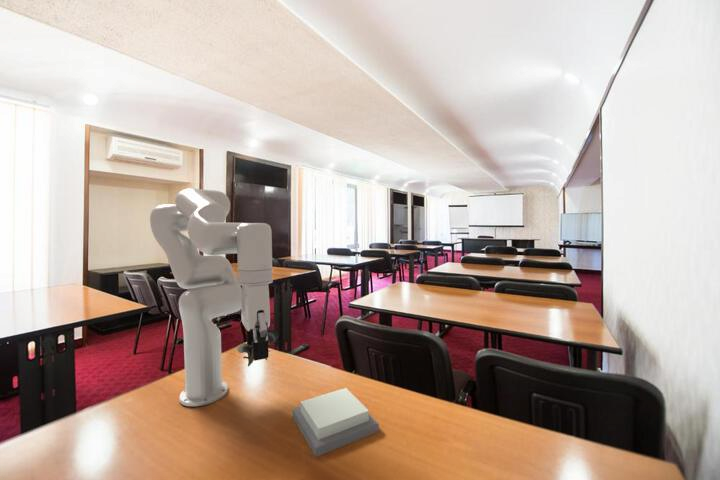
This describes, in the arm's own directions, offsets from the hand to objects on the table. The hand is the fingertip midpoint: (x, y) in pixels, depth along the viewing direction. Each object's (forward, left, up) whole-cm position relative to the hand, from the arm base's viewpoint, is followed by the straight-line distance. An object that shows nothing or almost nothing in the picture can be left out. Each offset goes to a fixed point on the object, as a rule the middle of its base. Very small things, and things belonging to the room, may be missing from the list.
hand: (257, 351), depth 70 cm
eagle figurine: (-2, +1, -3) cm, 3 cm away
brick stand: (+5, +17, -20) cm, 27 cm away
